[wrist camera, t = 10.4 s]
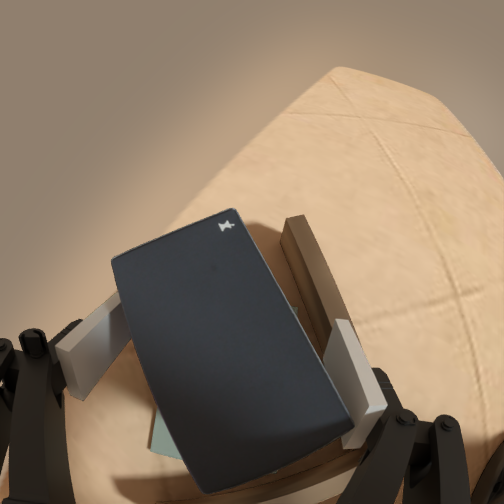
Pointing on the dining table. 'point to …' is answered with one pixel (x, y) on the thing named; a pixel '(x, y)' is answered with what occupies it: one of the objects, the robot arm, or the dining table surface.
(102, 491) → the dining table surface
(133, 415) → the dining table surface
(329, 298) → the walnut corner fence
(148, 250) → the small box
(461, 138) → the dining table surface
